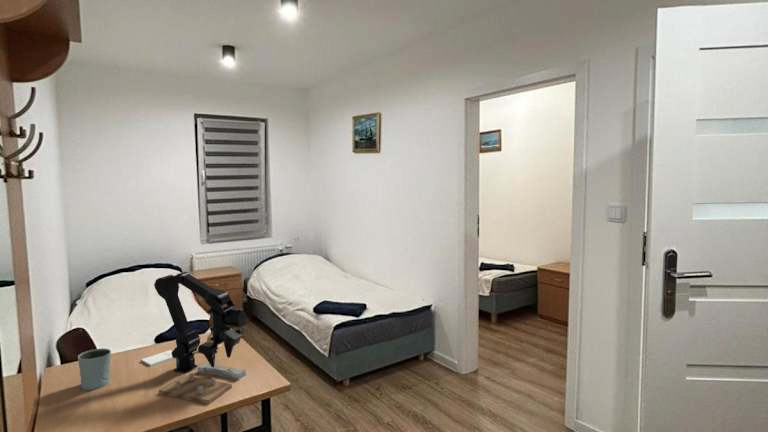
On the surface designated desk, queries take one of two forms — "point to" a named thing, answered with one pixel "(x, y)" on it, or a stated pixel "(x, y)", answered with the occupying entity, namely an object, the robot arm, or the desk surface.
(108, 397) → the desk surface
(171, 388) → the peg board
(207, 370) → the grey i-beam piece
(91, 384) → the grey-blue cup
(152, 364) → the external hard drive
